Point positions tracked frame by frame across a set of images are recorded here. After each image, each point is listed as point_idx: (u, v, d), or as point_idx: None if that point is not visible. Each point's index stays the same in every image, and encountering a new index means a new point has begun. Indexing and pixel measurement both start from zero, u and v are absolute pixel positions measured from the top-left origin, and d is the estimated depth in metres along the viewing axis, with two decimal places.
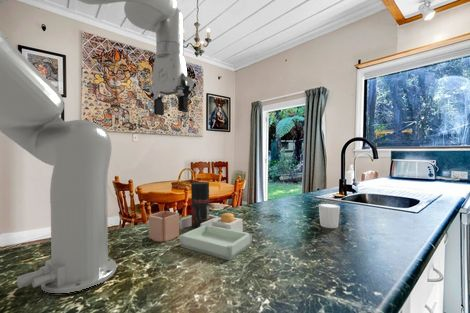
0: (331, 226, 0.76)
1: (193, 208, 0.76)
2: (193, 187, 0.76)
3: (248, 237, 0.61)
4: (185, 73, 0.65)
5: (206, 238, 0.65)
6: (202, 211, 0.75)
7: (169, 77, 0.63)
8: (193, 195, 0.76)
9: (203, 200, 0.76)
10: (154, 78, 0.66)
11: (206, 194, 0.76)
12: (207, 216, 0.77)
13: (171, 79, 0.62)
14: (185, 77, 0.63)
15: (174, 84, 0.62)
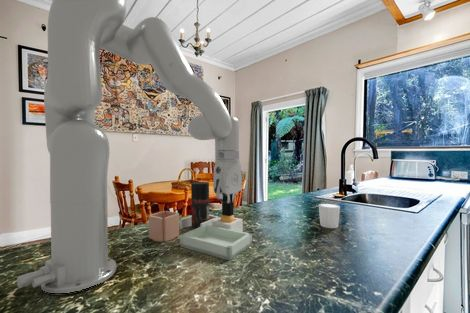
0: (331, 226, 0.76)
1: (193, 208, 0.76)
2: (193, 187, 0.76)
3: (248, 237, 0.61)
4: None
5: (206, 238, 0.65)
6: (202, 211, 0.75)
7: (239, 181, 0.73)
8: (193, 195, 0.76)
9: (203, 200, 0.76)
10: (228, 181, 0.68)
11: (206, 194, 0.76)
12: (207, 216, 0.77)
13: (240, 183, 0.74)
14: None
15: (241, 187, 0.75)
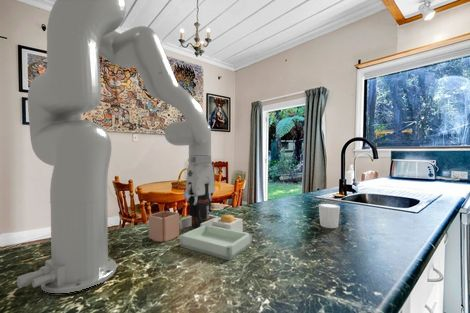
0: (331, 226, 0.76)
1: None
2: None
3: (248, 237, 0.61)
4: None
5: (206, 238, 0.65)
6: (202, 211, 0.75)
7: (211, 184, 0.79)
8: None
9: (203, 200, 0.76)
10: (199, 183, 0.74)
11: (206, 194, 0.76)
12: (207, 216, 0.77)
13: (212, 185, 0.79)
14: None
15: (214, 189, 0.80)
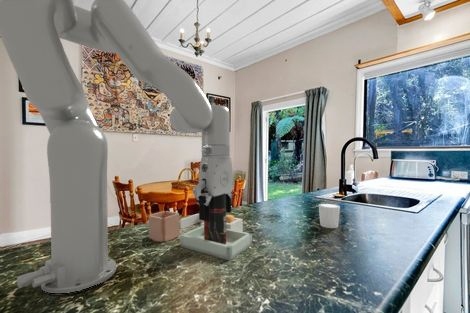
0: (331, 226, 0.76)
1: None
2: None
3: (248, 237, 0.61)
4: None
5: None
6: (219, 223, 0.59)
7: (229, 181, 0.63)
8: None
9: (220, 209, 0.59)
10: (216, 181, 0.58)
11: (223, 202, 0.60)
12: (224, 229, 0.61)
13: (231, 183, 0.63)
14: None
15: (232, 188, 0.64)
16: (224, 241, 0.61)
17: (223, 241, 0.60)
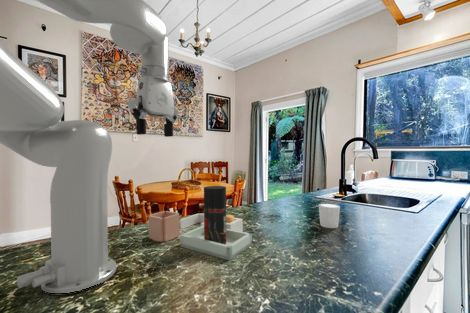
0: (331, 226, 0.76)
1: (207, 219, 0.60)
2: (207, 193, 0.60)
3: (248, 237, 0.61)
4: None
5: None
6: (219, 223, 0.59)
7: (168, 104, 0.68)
8: (207, 203, 0.60)
9: (220, 209, 0.59)
10: (151, 97, 0.63)
11: (223, 202, 0.60)
12: (224, 229, 0.61)
13: (170, 107, 0.68)
14: (173, 107, 0.72)
15: (173, 112, 0.69)
16: (224, 241, 0.61)
17: (223, 241, 0.60)
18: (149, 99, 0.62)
